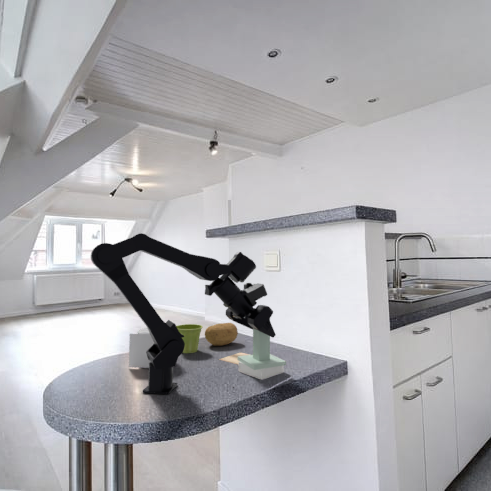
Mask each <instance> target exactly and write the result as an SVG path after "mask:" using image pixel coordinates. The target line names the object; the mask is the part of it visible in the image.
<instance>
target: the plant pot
mask: <svg viewBox="0 0 491 491" xmlns="http://www.w3.org/2000/svg"><path fill="white" fill-rule="evenodd" d="M176 327H177V329H178V331H179V332H180V333H181V334H182V335H184V337H182V339H183V340H184V343H185V346H184V350H183V352H182V354H194V353H197V352H198V349H199V345H200V344H199V343H200V338H201V332H202V329H203V325H201V324H197V323H195V324H194V323H187V324H186V323H185V324H178V325H176Z"/></svg>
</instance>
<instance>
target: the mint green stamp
mask: <svg viewBox="0 0 491 491" xmlns="http://www.w3.org/2000/svg"><path fill="white" fill-rule="evenodd" d="M252 332H253V333H252V354H250V355H244V356H238V359H237V360H239V361H240V362H242V363H243V364H245V365H247V366H248V367H250V368H252V369H253V370H257V369H264V368H270V367H277V366H283V365H284V366H287V360H284V359H282V358H280V357H278V356H276V355H274V354H271V336H268V335H266V334H264V333H262V332H260V331H257V330H255V329H252Z"/></svg>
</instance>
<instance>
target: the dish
mask: <svg viewBox="0 0 491 491" xmlns="http://www.w3.org/2000/svg"><path fill="white" fill-rule="evenodd" d="M238 373H242V374H244V375H247V376H250V377H253V378H255V379H258V380H261V381H263V380H266V379H268V378H271V377H275V376H277V375H281V374H284V373H285V365H283V366H277V367H270V368H264V369H257V370H253V369H252V368H250V367H248V366H247V365H245V364H243V363H242V362H239V365H238Z"/></svg>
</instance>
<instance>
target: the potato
mask: <svg viewBox="0 0 491 491" xmlns="http://www.w3.org/2000/svg"><path fill="white" fill-rule="evenodd" d="M204 337H205V339H206V341H207V342H208V343H209V344H210V345H212V346H214V347H221V346H226V345H229V344H231V343H233V342H234V341H235V340H236V339H237V337H238V328H237V326H236V324H234V323H232V322H223V323H216V324H214V325H209V326H208V327H207V328H206V329H205V331H204Z"/></svg>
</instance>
